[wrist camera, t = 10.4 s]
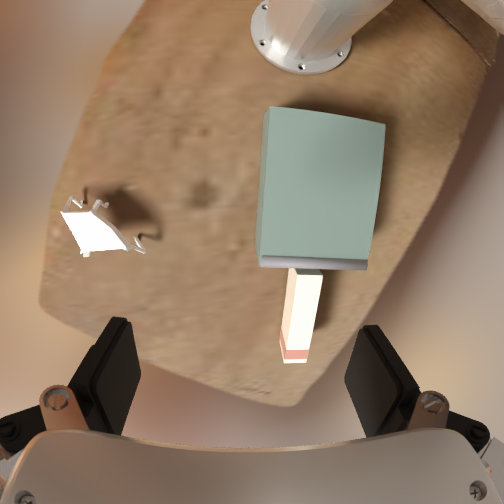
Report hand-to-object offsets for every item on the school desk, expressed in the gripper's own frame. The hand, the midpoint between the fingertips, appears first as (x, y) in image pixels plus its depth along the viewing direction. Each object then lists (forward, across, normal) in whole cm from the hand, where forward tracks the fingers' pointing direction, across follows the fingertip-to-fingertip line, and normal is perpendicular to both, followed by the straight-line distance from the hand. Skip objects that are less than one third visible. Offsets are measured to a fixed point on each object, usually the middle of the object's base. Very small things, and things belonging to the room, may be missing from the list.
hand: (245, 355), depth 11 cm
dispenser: (+26, -8, -4) cm, 28 cm away
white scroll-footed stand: (+27, +17, +3) cm, 32 cm away
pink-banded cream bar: (+25, -8, +12) cm, 29 cm away
